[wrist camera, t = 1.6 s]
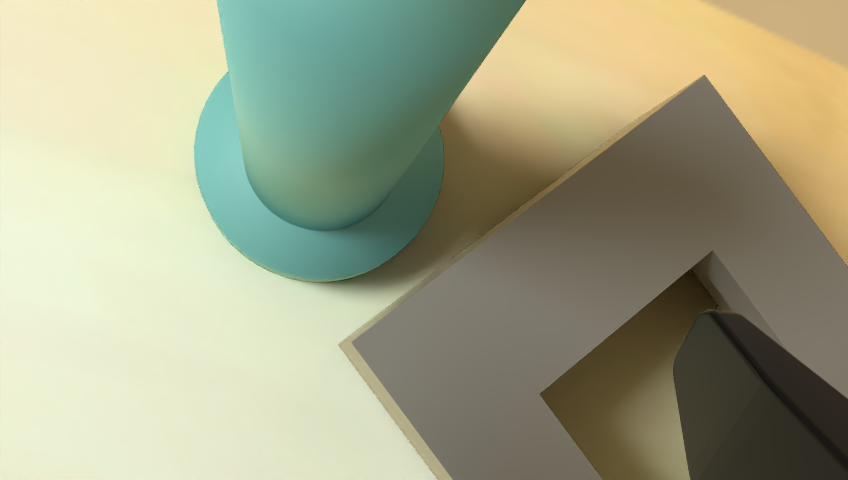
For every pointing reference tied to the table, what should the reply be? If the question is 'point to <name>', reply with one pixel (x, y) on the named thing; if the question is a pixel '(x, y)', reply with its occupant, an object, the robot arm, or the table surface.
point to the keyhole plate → (599, 289)
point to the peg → (335, 125)
